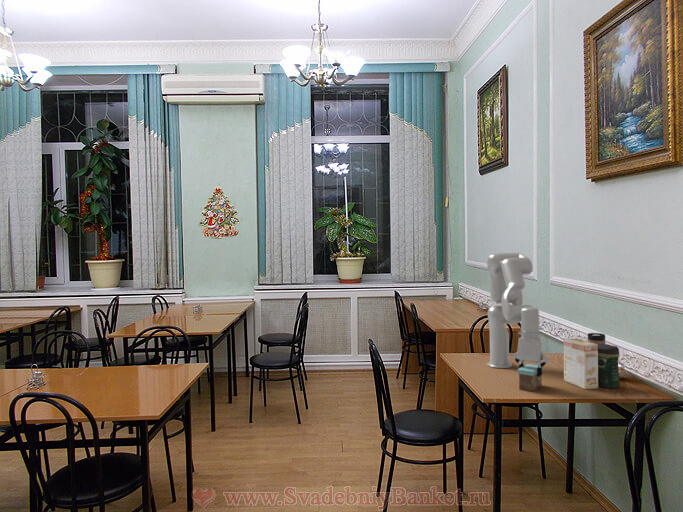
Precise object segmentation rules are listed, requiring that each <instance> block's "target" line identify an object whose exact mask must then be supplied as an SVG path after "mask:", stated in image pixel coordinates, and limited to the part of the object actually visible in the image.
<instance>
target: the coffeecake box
mask: <svg viewBox="0 0 683 512" xmlns="http://www.w3.org/2000/svg"><path fill="white" fill-rule="evenodd" d="M563 381H565V382H567V383H569V384H571V385H575V386H576V387H579V388H581V389H584V390H591V389H592V390H593V389H599V385H598V344H594V343H590V342H588V340H587V341H586V340H582V339H579V338H567V339H566V338H565V339H563Z"/></svg>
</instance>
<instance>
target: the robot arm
mask: <svg viewBox="0 0 683 512" xmlns="http://www.w3.org/2000/svg"><path fill="white" fill-rule="evenodd" d="M486 265H487V270H488V273H489V277H490V279H489V280H490V281H489V282H490V300H491V301H492V303H494V304H500V305H493V306H491V307H489V308H488V310H487V320H488V324H489V325H488V326H489V328H488V329H489V361H488V362H486V366H488V367H491V368H495V369H509V368H512V367H513V363H512V362H510V359H511V357H512V358H513V359H514V360H515V362H516V363H517V365H518V369H519V368H521V367H523V366H525V364H524V362H532V363H536V365H538V368H537V376H538V377H540V376H541V375H542V376H543V371H542V367H543V368H544V366H545V365H546V364H547V363H548V362H549V361H550V358H549V357H548V356H546V355H545V354H544V352H543V351H544V350H543V343H542V339H541V337H540V310H539V309H538V308H537V307H535V306H533V305H531V304H523V291H522V290H524V289H525V287H526V283H525V280H524V276H525V275H531V274H532V272H533V268H534V267H533V262H532V261H531V259H530V257H527V256H526V255H524V254H523V253H520V252H501V253H500V252H499V253H492V254H490V255H488V257H487V261H486ZM523 275H524V276H523ZM519 323H520V331H517V334H518V335H520V337H518V343H517V351H516V352H515V353H513V354H512V355H511V356H510V345H509V343H510V341H509V340H510V339H509V338H510V337H509V336H510V335H509V331H508V329H507V328H506V327H505V325H510V324H511V325H512V324H513V325H514V324H519ZM542 361H543V362H542Z"/></svg>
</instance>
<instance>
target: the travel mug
mask: <svg viewBox="0 0 683 512" xmlns="http://www.w3.org/2000/svg"><path fill="white" fill-rule="evenodd" d="M587 342H590V343H594V344H606V334H604V333H599V332H589V333H587Z"/></svg>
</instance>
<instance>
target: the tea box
mask: <svg viewBox="0 0 683 512" xmlns="http://www.w3.org/2000/svg"><path fill="white" fill-rule="evenodd" d="M518 377H519V379H518V380H519V382H518V383H519V384H518V385H519V387H518V388H519V390H521V391H527V392H534V391H535V390H537V389H538V388H541V386H542V385H543V382H542V381H543V378H542V377H543V374H542V375H541V376H540V377H538V376H537V374H536V375H534V376H530V375H524V374H518Z"/></svg>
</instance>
